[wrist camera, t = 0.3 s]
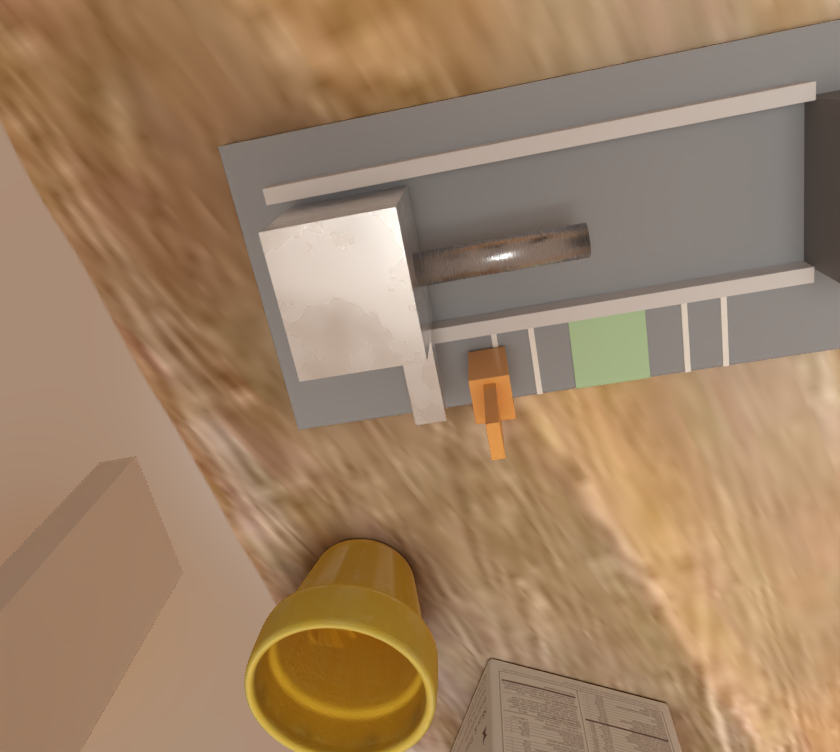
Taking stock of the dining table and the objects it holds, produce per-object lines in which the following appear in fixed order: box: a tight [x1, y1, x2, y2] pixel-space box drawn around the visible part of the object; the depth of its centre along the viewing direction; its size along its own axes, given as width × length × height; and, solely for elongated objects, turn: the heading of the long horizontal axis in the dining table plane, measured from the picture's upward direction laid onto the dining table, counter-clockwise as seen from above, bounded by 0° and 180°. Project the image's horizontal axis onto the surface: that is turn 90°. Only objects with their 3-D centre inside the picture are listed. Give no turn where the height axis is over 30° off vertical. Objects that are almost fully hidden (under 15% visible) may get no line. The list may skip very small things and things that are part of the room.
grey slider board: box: [218, 19, 840, 430], centre depth 35 cm, size 16×32×8 cm, turn 101°
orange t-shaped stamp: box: [468, 346, 516, 460], centre depth 36 cm, size 2×2×8 cm
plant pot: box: [245, 539, 438, 752], centre depth 43 cm, size 10×10×10 cm
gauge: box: [259, 185, 591, 425], centre depth 35 cm, size 12×14×6 cm
